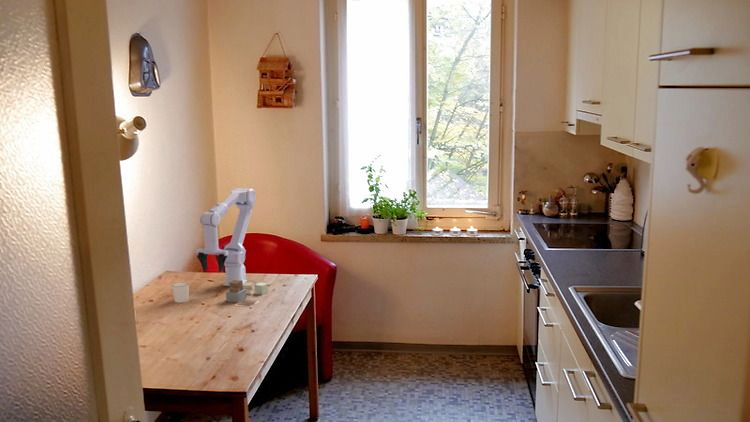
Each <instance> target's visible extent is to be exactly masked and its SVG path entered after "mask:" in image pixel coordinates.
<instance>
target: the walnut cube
mask: <svg viewBox="0 0 750 422" xmlns="http://www.w3.org/2000/svg"><path fill="white" fill-rule="evenodd" d="M228 287H229V290H230V292H240V291H242V290H243V281H242V280H233V281H231V282H229V286H228Z"/></svg>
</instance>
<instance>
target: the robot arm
mask: <svg viewBox="0 0 750 422" xmlns="http://www.w3.org/2000/svg"><path fill="white" fill-rule="evenodd" d="M256 200H257V195H256V191H255V189H253V188H239V187H234V188H233V189H232V190H231V191H230V194H229V195H228V196H227V198H226V199H225V200H224V201H223V202H217V203H216V204H215V205H214V206H213V207H212V208H210V209H209V211H205V212H203V213H202V214H201V216H200V219H199V222H200V224H201V226H202V228H201V229H202V230H203V239H204V248H196V249H195V254H197V255H196V257H197V259H198V260H199V263H200V265H201V267H202V270H203V272H204V271H207V270H208V257H209V255H216V260H217V264H218V272H220V273H222V272H223V271H224V270H225V282H224V283H222V286H226V287H229V282H231V281H233V280H242V281H243V283H244V282H248V279H247V278H246V277H247V276H246V272H247V271H246V266H245V265H244V263H245V260H246V252H247V250H246V249H245V247H244V246H243V243H244V240H245V238H246V234H247V229H248V226H249V222H250V221H251V220H250V219H251V216H252V212H253V209H254V207H255V203H256ZM234 205H235V206H236V208H238V209H239V211H238V215H237V220H236V222H235V226H234V229H233V232H232V237H231V239H230V242H228V243H227V244H226V245H224V248H223V249H221V248H220V247H219V233H218V232H219V231H218V226H219V224H220V222H221V220H222V219H223V217H224V216H226V215H227V214H228V213H229V209H230V208H231V207H232V206H234ZM224 267H225V269H224Z"/></svg>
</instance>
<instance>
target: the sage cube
mask: <svg viewBox="0 0 750 422" xmlns="http://www.w3.org/2000/svg"><path fill="white" fill-rule="evenodd" d="M268 284H269V283H266V282H261V281H260V282H258V283H256V284H255V283H254V294H255V295H262V296H263V295H265V294H267V293H269V285H268Z"/></svg>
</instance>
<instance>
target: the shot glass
mask: <svg viewBox="0 0 750 422" xmlns="http://www.w3.org/2000/svg"><path fill="white" fill-rule="evenodd" d="M171 287H172V292H173V293H172V294H173V298H174V302H175V303H180V304H182V303H186V302H188V301H189V293H190V289H189V287H190V284H189V283H188V282H186V281H185V282H183V281H182V282H181V281H180V282H176V283H173V284H171Z"/></svg>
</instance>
